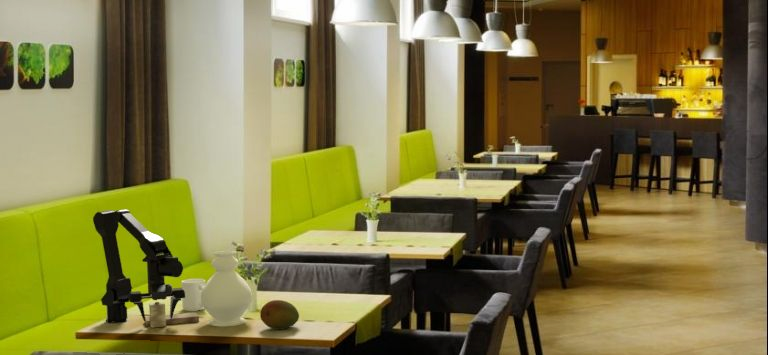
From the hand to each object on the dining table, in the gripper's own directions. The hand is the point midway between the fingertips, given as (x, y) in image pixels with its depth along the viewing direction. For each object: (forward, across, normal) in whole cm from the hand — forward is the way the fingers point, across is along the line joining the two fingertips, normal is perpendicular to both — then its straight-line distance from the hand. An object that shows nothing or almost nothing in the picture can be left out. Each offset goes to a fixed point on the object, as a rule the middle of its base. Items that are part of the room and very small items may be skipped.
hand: (157, 319), depth 386 cm
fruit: (+3, +38, -21) cm, 44 cm away
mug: (+3, +18, +23) cm, 29 cm away
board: (+2, +6, +5) cm, 8 cm away
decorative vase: (+3, +24, -4) cm, 24 cm away
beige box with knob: (+2, 0, +3) cm, 4 cm away
